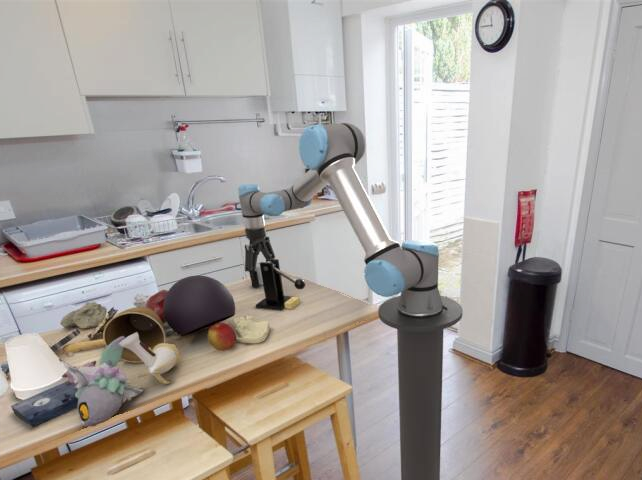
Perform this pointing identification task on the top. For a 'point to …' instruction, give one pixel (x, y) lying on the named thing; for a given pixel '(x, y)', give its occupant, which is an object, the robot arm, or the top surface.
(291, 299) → the butter
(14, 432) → the top surface
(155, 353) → the toy gun
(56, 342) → the toy
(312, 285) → the top surface
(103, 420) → the toy
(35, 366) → the cup
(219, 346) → the apple
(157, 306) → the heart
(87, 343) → the novelty tool
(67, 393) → the vhs cassette tape
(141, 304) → the skull
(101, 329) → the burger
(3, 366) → the wristwatch
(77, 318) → the fossil
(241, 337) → the lumpy plaster cast
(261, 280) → the white cardboard box
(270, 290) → the black lever stand
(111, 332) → the plant pot
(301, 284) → the slicer arm
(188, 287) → the dark purple dome
